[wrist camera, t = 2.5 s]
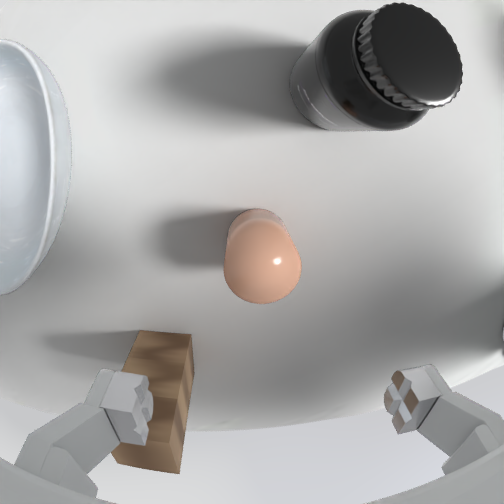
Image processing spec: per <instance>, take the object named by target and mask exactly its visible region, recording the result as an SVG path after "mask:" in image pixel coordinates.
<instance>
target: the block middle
mask: <svg viewBox="0 0 504 504" xmlns="http://www.w3.org/2000/svg"><path fill="white" fill-rule="evenodd" d="M121 372H126V373H133V374H139V375H145V376H147V377H148V381H149V386H148V390H149V391H150V392H151V393H152V396H156V397H165V398H174V399H178V404H179V409H180V414H181V419H182V424H183V429H184V434H185V430H186V423H187V417H188V410H189V404H190V399H189V391H188V384H187V376H186V367H185V363H179V362H167V361H157V360H148V359H139V358H132V357H128V358H127V360H126V362H125V364H124V367H123V369H122V371H121Z"/></svg>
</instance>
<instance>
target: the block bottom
mask: <svg viewBox="0 0 504 504" xmlns="http://www.w3.org/2000/svg"><path fill="white" fill-rule="evenodd" d="M128 357H132V358H139V359H148V360H157V361H167V362H179V363H185V367H186V376H187V384H188V391H189V399H190V397H191V390H192V384H193V378H194V363H193V351H192V338H191V334H178V333H165V332H153V331H143V330H140V331H139V333H138V336H137V338H136V340H135V342H134V344H133V346H132V349H131V351H130V353H129V355H128Z"/></svg>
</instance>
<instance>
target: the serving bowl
mask: <svg viewBox="0 0 504 504" xmlns="http://www.w3.org/2000/svg"><path fill="white" fill-rule="evenodd" d="M71 166H72V142H71V130H70V123H69V117H68V112H67V108H66V104H65V101H64V97H63V95H62V92H61V89H60V87H59V85H58V83H57V81H56V79H55V77H54V75H53V74H52V72H51V70H50V69H49V68H48V66H47V65H46V64H45V63H44V62H43V61H42V59H41V58H40V57H38V56H37V55H36V54H35V53H34V52H32V51H31V50H29V49H28V48H26V47H25V46H23V45H22V44H20V43H18V42H15V41H12V40H7V39H0V295H5V294H8V293H11V292H13V291H15V290H16V289H18V288H19V287H20V286H22V285H23V284H24V283H25V282H26V281H27V280H28V279H29V277H30V276H31V275H32V274H33V273H34V271H35V270H36V269H37V268H38V266H39V265H40V264H41V262H42V261H43V259H44V258H45V256H46V254H47V253H48V251H49V249H50V247H51V245H52V243H53V242H54V239H55V237H56V235H57V232H58V230H59V227H60V224H61V221H62V218H63V215H64V211H65V207H66V203H67V198H68V193H69V187H70V179H71Z"/></svg>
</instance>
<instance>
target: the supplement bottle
mask: <svg viewBox="0 0 504 504" xmlns="http://www.w3.org/2000/svg"><path fill="white" fill-rule="evenodd" d="M462 76H463V72H462V62H461V60H460V54H459V52H458V50H457V46H456V44H455V43H454V41H453V39H452V36H451V35H450V34H449V33H448V32H447V30H446V28H445V27H444V26H443V25H441V23H440V22H439V21H438V20H437V19H436V18H434V17H433V16H432V15H431V14H430V13H428V12H425V11H424V10H423V9H422V8H418V7H416V6H414V5H412V4H410V5H408V4H406V3H400V4H399V3H392V4H390V5H389V4H386V5H384V6H383V7H381V8H380V9H377V10H376V11H372V10H356V11H350V12H347V13H344V14H342V15H340V16H338V17H336V18H335V19H334V20H332V21H331V22H330V23H329V24H328V25H327V26H326V27H325V28H324V29H323V30H322V31H321V33H320V34H319V35H318V36H317V37H316V38H315V40H314V41H313V42H312V43H311V44H310V45H309V47H308V48H307V49H306V50H305V51H304V53H303V54H302V55H301V56H300V58H299V59H298V60H297V62H296V63H295V65H294V67H293V69H292V72H291V76H290V91H291V95H292V98H293V101H294V103H295V105H296V107H297V108H298V110H299V111H300V112H301V113H302V115H303V116H304V117H305V118H306V119H308V120H309V121H310V122H312V123H313V124H315V125H317V126H319V127H321V128H324V129H327V130H332V131H393V130H400V129H404V128H407V127H410V126H412V125H414V124H415V123H417V122H418V121H419V120H420V119H422V118H423V116H424V115H425V114H426V113H427V112H428V110H429V109H431V108H436V107H442V106H444V105H445V104H446V103H450V102H451V100H452V98H455V97H456V94H457V92H459V91H460V85H461V84H462Z"/></svg>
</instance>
